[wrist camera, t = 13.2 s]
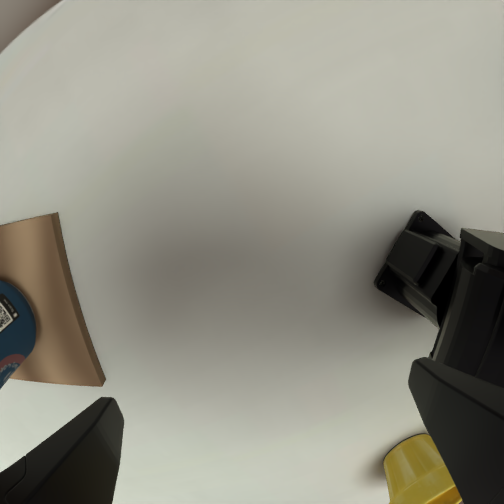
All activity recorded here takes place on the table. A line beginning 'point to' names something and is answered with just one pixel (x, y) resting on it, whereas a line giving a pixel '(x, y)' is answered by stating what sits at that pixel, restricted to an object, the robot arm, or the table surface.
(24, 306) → the soda can
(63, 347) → the coaster board
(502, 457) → the robot arm
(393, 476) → the plant pot
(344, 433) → the table surface
